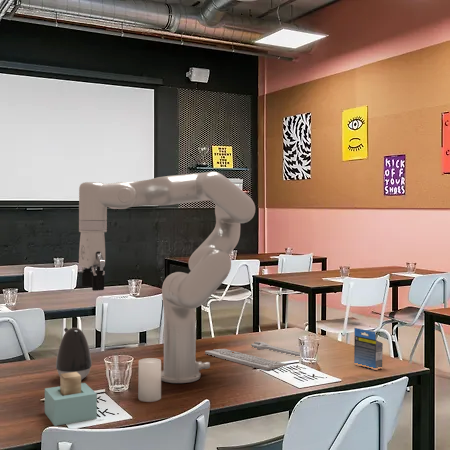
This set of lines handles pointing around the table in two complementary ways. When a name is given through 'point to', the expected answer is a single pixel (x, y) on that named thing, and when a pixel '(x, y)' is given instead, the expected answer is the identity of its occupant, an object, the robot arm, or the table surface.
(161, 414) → the table surface
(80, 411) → the bore block
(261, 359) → the keyboard
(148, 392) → the white pillar candle
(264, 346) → the adjustable wrench
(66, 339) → the dark brown egg shape
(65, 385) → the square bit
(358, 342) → the label tape cartridge
